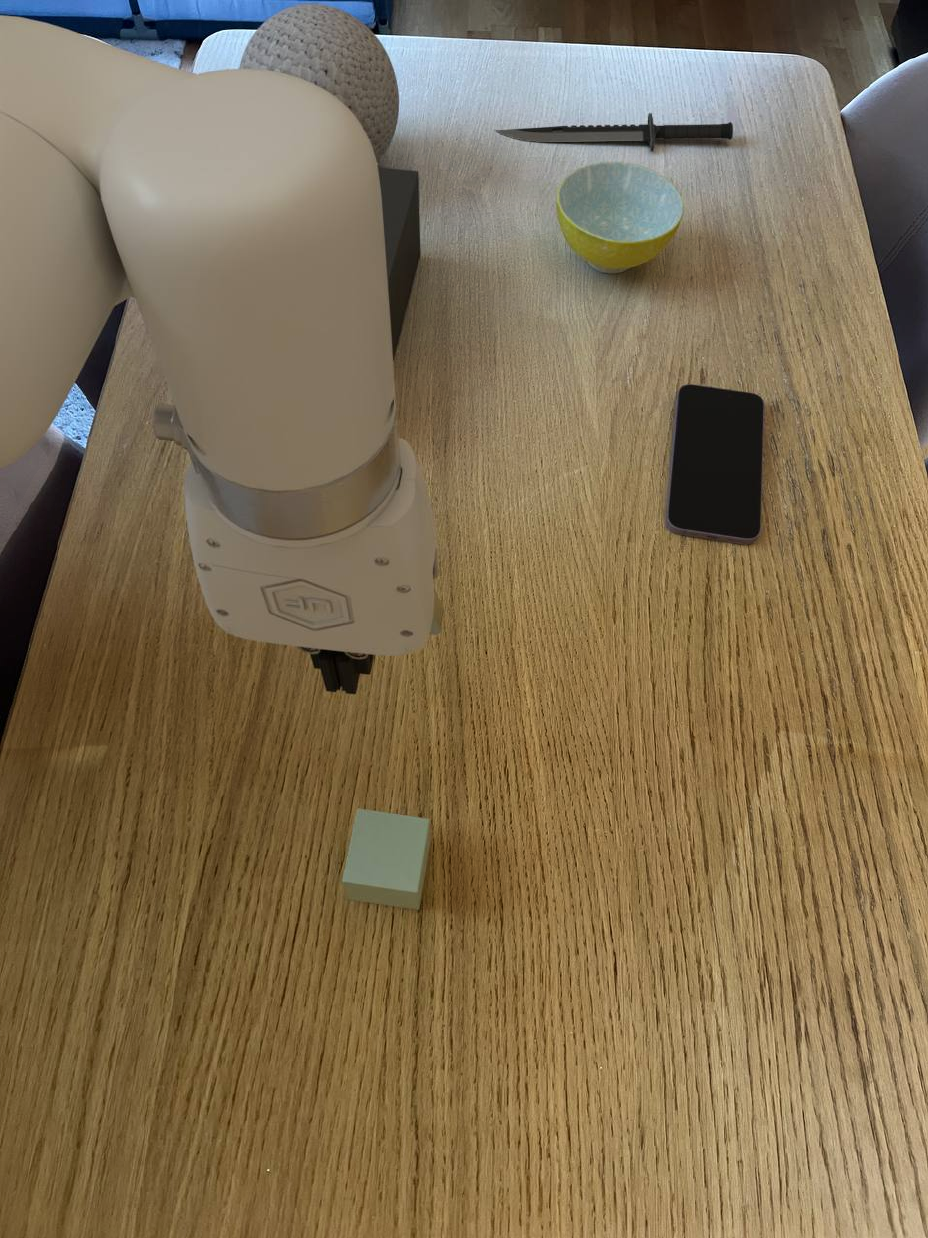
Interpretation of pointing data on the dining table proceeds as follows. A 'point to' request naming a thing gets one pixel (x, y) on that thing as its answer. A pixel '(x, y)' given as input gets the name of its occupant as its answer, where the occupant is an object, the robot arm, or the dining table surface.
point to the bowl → (618, 214)
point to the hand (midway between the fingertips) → (346, 668)
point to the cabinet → (400, 240)
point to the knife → (621, 132)
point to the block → (387, 859)
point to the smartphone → (716, 465)
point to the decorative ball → (332, 63)
